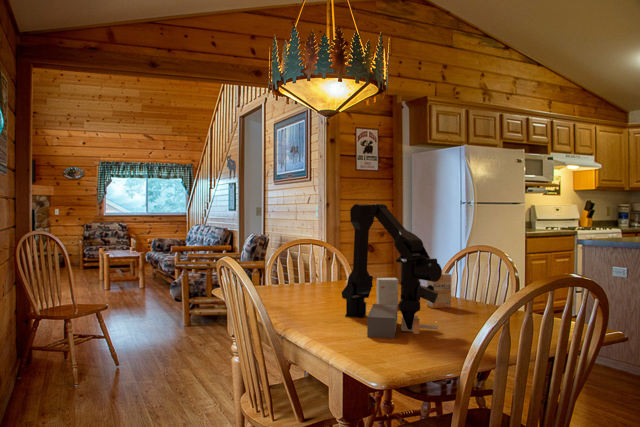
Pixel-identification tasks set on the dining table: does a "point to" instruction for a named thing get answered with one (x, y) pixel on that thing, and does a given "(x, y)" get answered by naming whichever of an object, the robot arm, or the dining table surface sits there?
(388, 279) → the small box
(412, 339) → the dining table surface
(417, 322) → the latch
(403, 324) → the plug
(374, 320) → the grey block
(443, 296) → the supplement box
